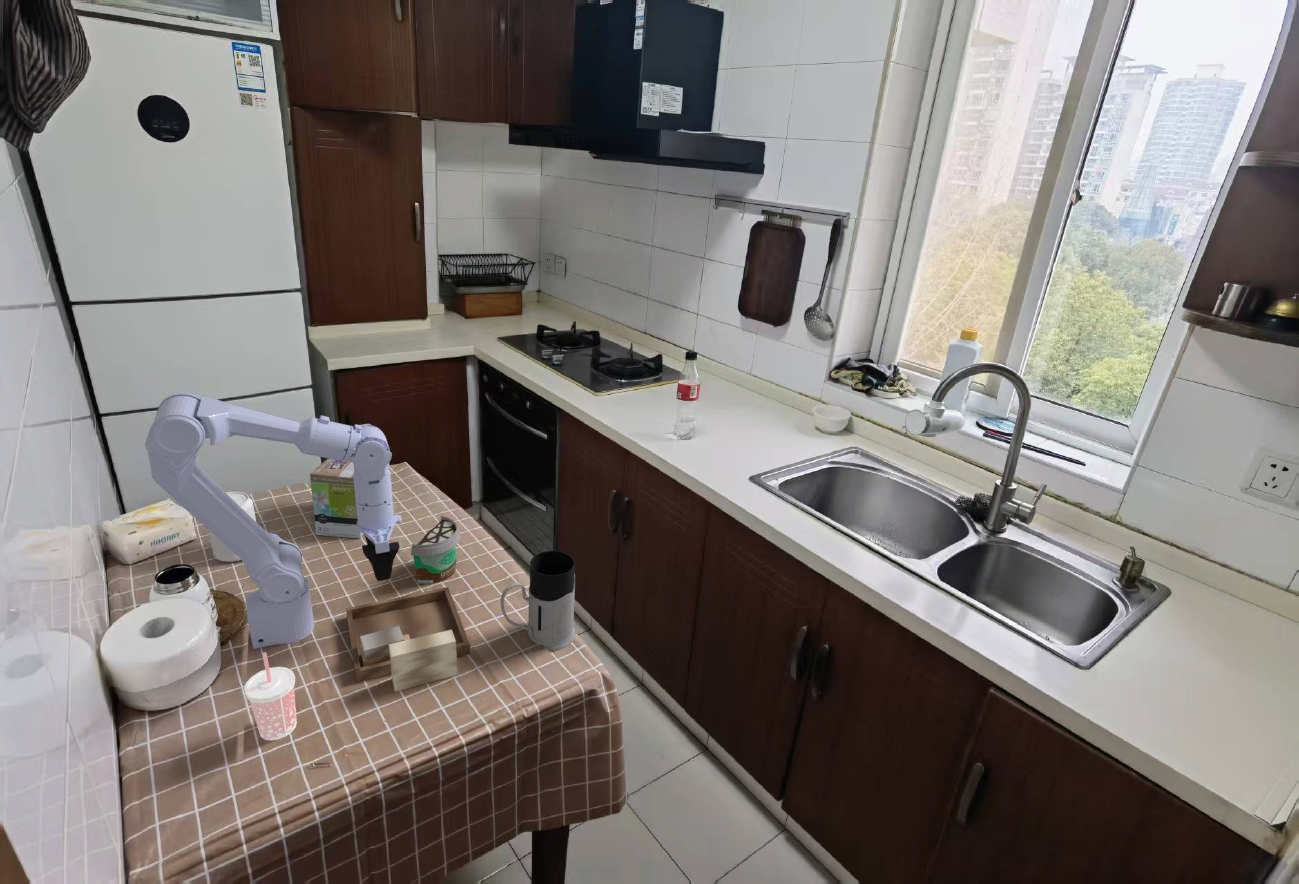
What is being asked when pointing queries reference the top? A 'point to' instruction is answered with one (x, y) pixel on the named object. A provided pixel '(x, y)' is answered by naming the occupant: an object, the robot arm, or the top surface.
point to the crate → (404, 624)
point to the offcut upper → (380, 642)
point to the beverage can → (218, 546)
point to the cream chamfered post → (423, 660)
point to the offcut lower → (379, 659)
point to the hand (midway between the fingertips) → (380, 566)
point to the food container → (437, 552)
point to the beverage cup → (273, 701)
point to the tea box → (334, 499)
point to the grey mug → (549, 600)
